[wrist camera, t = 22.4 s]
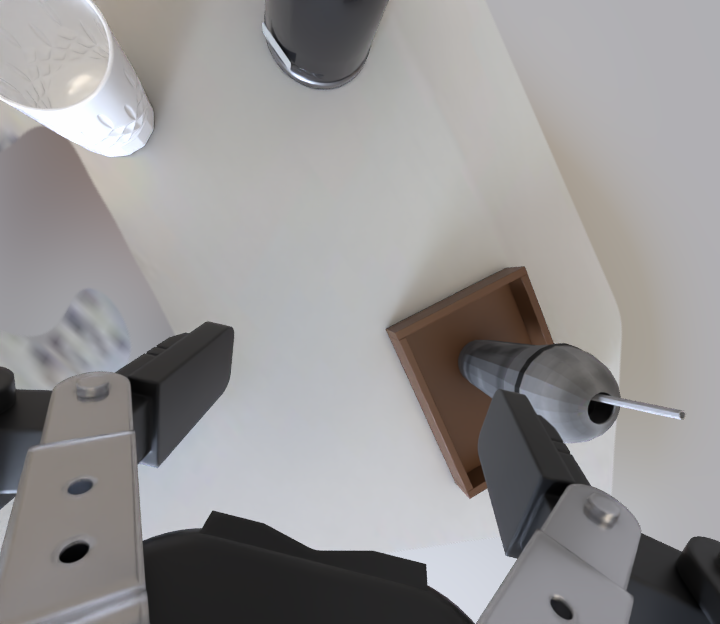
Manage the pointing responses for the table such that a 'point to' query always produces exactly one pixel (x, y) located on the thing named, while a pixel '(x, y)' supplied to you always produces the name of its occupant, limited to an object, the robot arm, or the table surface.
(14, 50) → the white cup
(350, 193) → the table surface
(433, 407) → the tray
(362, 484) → the table surface
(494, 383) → the beverage cup
